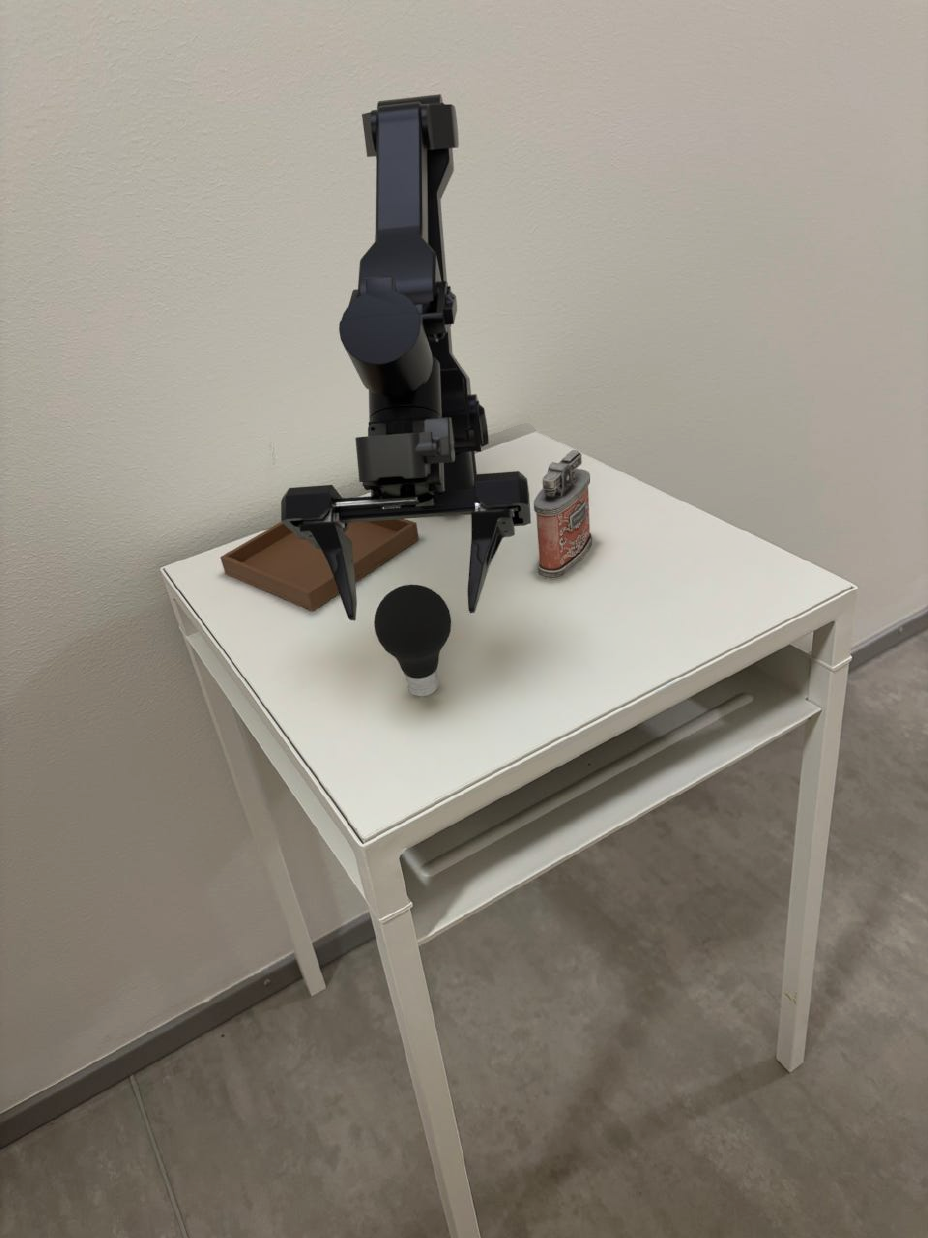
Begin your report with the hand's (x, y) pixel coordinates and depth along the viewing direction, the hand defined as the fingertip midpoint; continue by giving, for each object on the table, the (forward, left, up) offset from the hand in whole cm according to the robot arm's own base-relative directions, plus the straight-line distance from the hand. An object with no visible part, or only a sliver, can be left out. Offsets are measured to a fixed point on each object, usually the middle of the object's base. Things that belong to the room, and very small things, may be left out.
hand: (411, 615), depth 72 cm
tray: (-11, -24, -8) cm, 27 cm away
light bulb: (0, 0, -8) cm, 8 cm away
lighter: (-23, -2, -8) cm, 24 cm away
